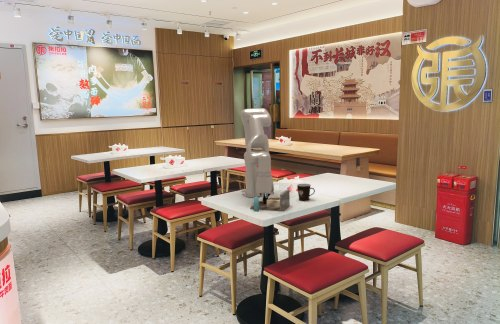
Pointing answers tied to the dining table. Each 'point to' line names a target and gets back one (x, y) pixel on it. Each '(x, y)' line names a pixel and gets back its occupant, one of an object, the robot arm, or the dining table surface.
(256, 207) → the dowel
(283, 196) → the rail board
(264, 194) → the robot arm
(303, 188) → the coffee mug
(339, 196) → the dining table surface
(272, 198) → the slider block
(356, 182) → the dining table surface
